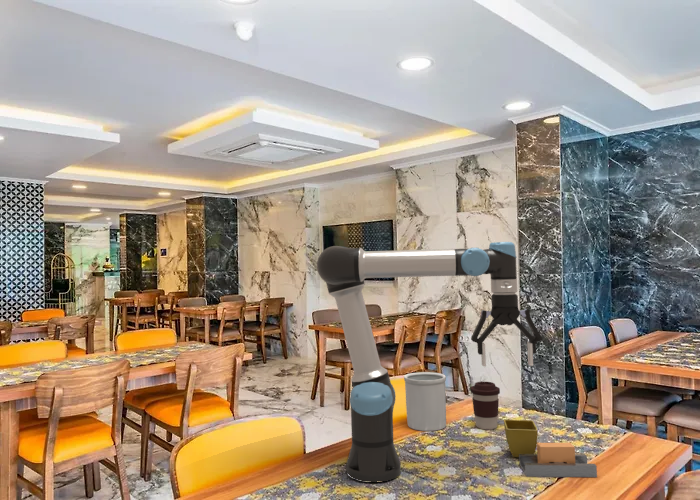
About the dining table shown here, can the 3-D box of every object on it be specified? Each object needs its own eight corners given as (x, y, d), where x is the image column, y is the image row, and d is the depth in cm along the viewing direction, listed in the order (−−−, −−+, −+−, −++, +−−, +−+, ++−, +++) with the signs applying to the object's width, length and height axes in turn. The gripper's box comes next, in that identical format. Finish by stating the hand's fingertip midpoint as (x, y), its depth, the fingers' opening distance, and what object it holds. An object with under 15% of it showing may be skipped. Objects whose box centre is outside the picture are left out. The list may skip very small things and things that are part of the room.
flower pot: (539, 461, 141) (538, 429, 142) (507, 460, 143) (506, 428, 144) (534, 450, 150) (533, 420, 150) (504, 449, 152) (503, 419, 152)
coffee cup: (504, 430, 168) (503, 386, 169) (475, 431, 168) (474, 387, 169) (496, 421, 178) (495, 379, 179) (469, 422, 178) (467, 380, 179)
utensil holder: (401, 420, 183) (400, 372, 184) (440, 417, 185) (439, 370, 186) (410, 433, 169) (409, 381, 169) (453, 430, 170) (451, 379, 171)
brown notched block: (541, 473, 134) (540, 446, 134) (538, 468, 137) (536, 442, 137) (575, 473, 133) (574, 446, 133) (571, 468, 136) (570, 442, 136)
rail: (526, 476, 132) (526, 465, 132) (519, 464, 140) (518, 453, 140) (597, 477, 130) (596, 465, 130) (585, 465, 138) (585, 454, 138)
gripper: (463, 295, 145) (466, 368, 144) (551, 293, 143) (554, 367, 142) (460, 293, 152) (462, 363, 152) (543, 291, 150) (546, 362, 149)
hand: (507, 365), depth 147 cm, fingers open, 13 cm apart
